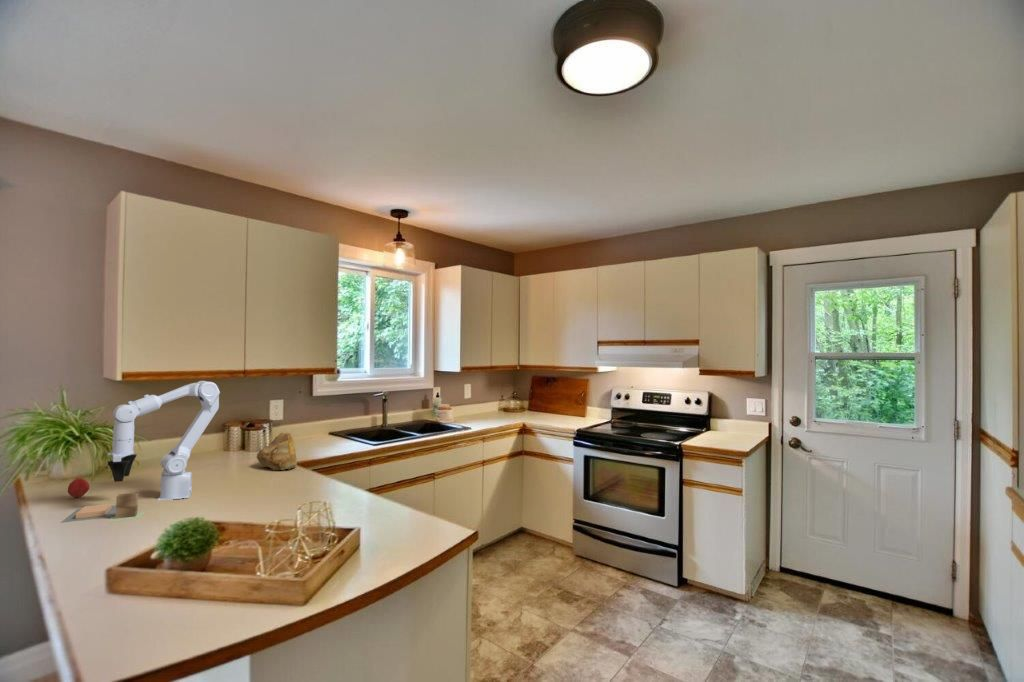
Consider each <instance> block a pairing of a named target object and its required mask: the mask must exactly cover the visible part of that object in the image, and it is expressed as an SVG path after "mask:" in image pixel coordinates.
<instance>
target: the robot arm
mask: <svg viewBox="0 0 1024 682" xmlns="http://www.w3.org/2000/svg"><path fill="white" fill-rule="evenodd" d="M220 394H221V391H220V389H219V386H218V385H217V383H215V382H212V381H206V380H199V381H197V382H193V383H192V382H191V383H188V384H185V385H183V386H180V387H178V388H175V389H173V390H170V391H168V392H165V393H163V394H160V395H156V394H150V395H149V394H148V393H147V394H145V395H143V397H142V398H139V399H137V400H133V401H132V400H129V401H128V402H127V403H128V404H120V405H118V406H116V407H115V408H114V409H113V412H112V413H111V414H112V417H113V419H114V422H113V424H114V425H113V428H112V429H113V430H112V433H113V434H112V452H108V453H107V456H112V460H109V461H107V466H108V467H109V468H110V471H111V474H112V477H113V482H115V483H119V482H120V483H121V482H123V480H124V478H125V477H129V475H130V473H131V469H132V466H133V463H134V461H135V459H136V457H137V454H135V450H134V448H135V428H136V427H135V419H136V418H137V417H141V416H144V415H147V414H149V413H152V412H154V411H157V410H160V408H161V406H162V405H164V404H166V403H169V402H172V401H175V400H178V399H181V398H183V397H187V396H189V397H197V398H198V400H199V403H200V404H201V409H200V410H199V412H198V413H197V414H196V416H195V417H194V418H193V420H192V422H191V423H190V425H189V426H188V428H187V429H186V431H185V433H184V434H183V436H182V437H181V438H180V440H179V441H178V442H177V444H176V445H175V446H173V447H172V449H170V451H169V452H168V453H167V454H165V455H164V456H163V457H162V458H161V460H160V465H161V467H162V468H163V470H162V471H161V474H160V493H159V494H160V496H159V497H158V498H157V499H156V501H157V502H158V501H168V500H169V501H170V500H173V499H174V500H181V499H182V498H184V499H189V498H190V496H191V495H192V492H193V491H192V490H193V487H192V485H193V472H192V471H186V468H187V464H188V460H189V458H190V456H191V453H192V450H193V449H194V447H195V445H196V443H197V442H198V441H199V439H200V437H201V436H202V435H203V433H204V431H205V430H206V429H207V427H208V425H209V424H210V422H211V421H212V420H213V418H214V416H215V414H216V413H217V412H218V410H219V408H220V402H219V401H220Z"/></svg>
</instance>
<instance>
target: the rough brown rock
mask: <svg viewBox="0 0 1024 682" xmlns="http://www.w3.org/2000/svg"><path fill="white" fill-rule="evenodd" d="M295 448H296V447H295V439H294V437H293V435H292V433H290V432H285V433H284V432H280V433H279V434H278V435H277V436H276V437H275V438H274V439H273V440H272V441H271V442H270V444H269V445H267V446H265V447H263V448H261V449H260V450H259V451H258V452H257V455H256V460H257V461H258V462H259V463H260V465H261V466H262V467H263V466H264V467H263V468H269V469H271V470H273V471H275V470H278V471H280V470H281V471H286V470H285V469H288V470H291V468H292V469H294V468H296V466H298V463H297V462H298V461H297V454H296V453H297V452H296V449H295Z"/></svg>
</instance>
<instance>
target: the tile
mask: <svg viewBox="0 0 1024 682" xmlns="http://www.w3.org/2000/svg"><path fill="white" fill-rule="evenodd" d="M112 506H113V503H105V504H95V505H86V506H85V505H84V506H83V507H82V508H80V509H81V510H80V511H79V512H77V513H76V519H79V518H88V517H98V516H104V515H105V514H106V513H107V512H109V511H110V510H111V509H112Z"/></svg>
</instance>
